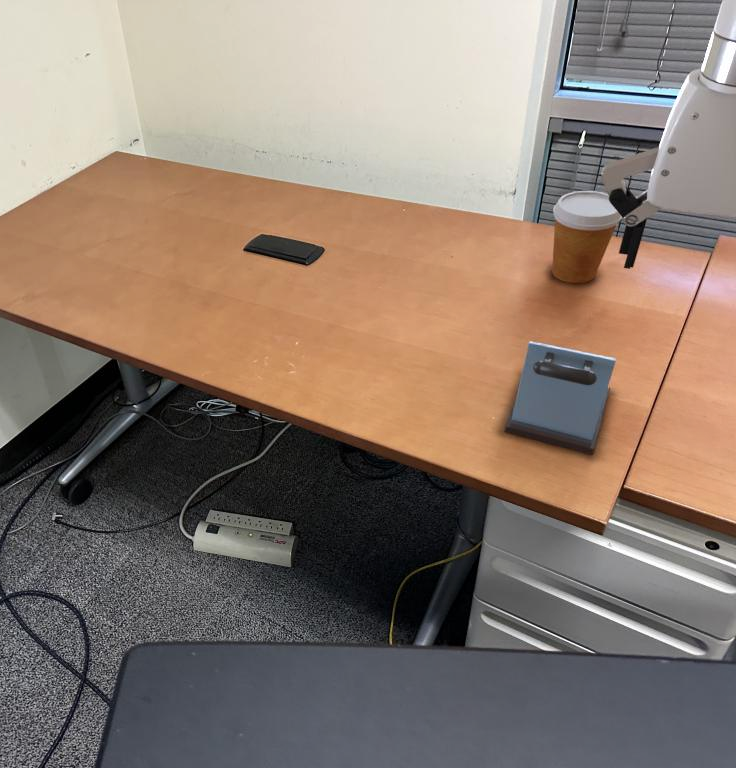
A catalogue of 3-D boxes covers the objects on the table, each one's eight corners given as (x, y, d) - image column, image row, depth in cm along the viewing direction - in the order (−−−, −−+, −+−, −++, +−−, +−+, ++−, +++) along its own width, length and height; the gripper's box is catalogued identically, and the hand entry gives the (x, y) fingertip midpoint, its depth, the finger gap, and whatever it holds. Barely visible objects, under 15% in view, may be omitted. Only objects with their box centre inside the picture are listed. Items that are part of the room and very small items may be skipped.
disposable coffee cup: (617, 268, 109) (637, 198, 101) (589, 295, 104) (607, 224, 97) (558, 252, 115) (573, 184, 107) (529, 276, 110) (542, 208, 103)
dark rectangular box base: (526, 375, 93) (528, 364, 92) (608, 393, 88) (611, 382, 87) (504, 431, 85) (506, 421, 84) (592, 455, 81) (595, 444, 80)
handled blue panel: (529, 340, 79) (521, 358, 76) (616, 358, 75) (611, 378, 72) (512, 418, 85) (503, 438, 82) (592, 438, 81) (586, 460, 78)
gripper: (923, 45, 47) (816, 265, 57) (635, 42, 54) (589, 235, 65) (939, 80, 42) (820, 312, 53) (622, 72, 50) (575, 275, 61)
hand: (692, 270), depth 59 cm, fingers open, 9 cm apart
